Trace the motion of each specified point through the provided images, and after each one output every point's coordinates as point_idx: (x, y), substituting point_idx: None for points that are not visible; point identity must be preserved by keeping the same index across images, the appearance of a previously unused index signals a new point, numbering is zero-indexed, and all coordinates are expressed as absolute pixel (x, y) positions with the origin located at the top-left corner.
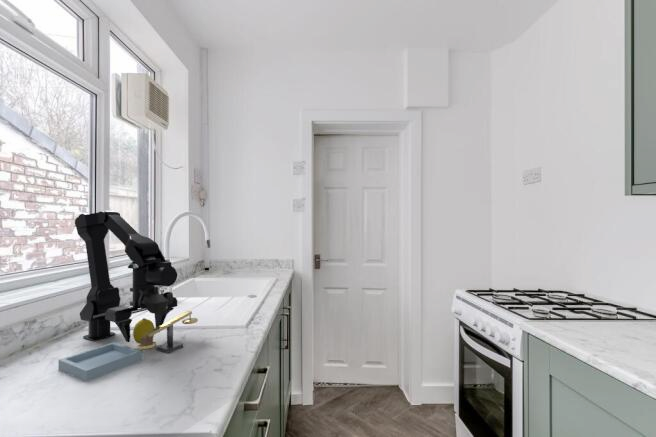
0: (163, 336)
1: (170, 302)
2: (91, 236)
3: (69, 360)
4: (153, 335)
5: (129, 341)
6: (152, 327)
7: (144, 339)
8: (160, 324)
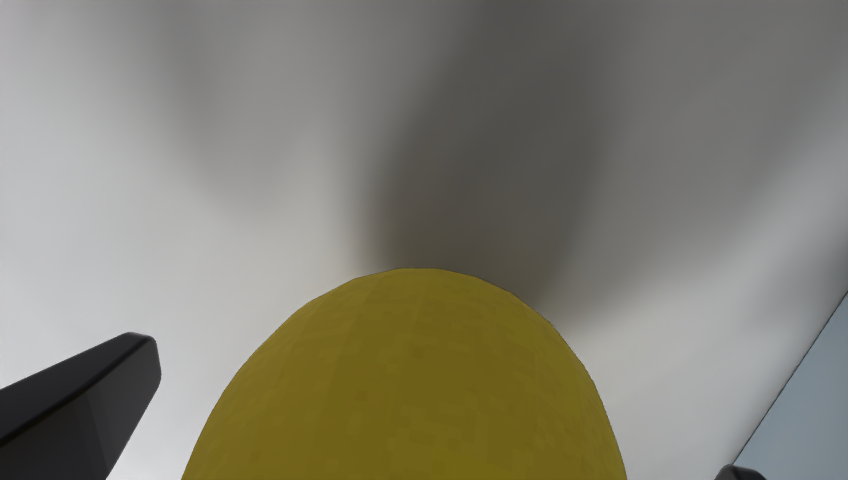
0: (104, 312)
1: None
2: None
3: None
4: (328, 295)
5: (741, 471)
6: (290, 447)
7: None
8: (2, 438)
